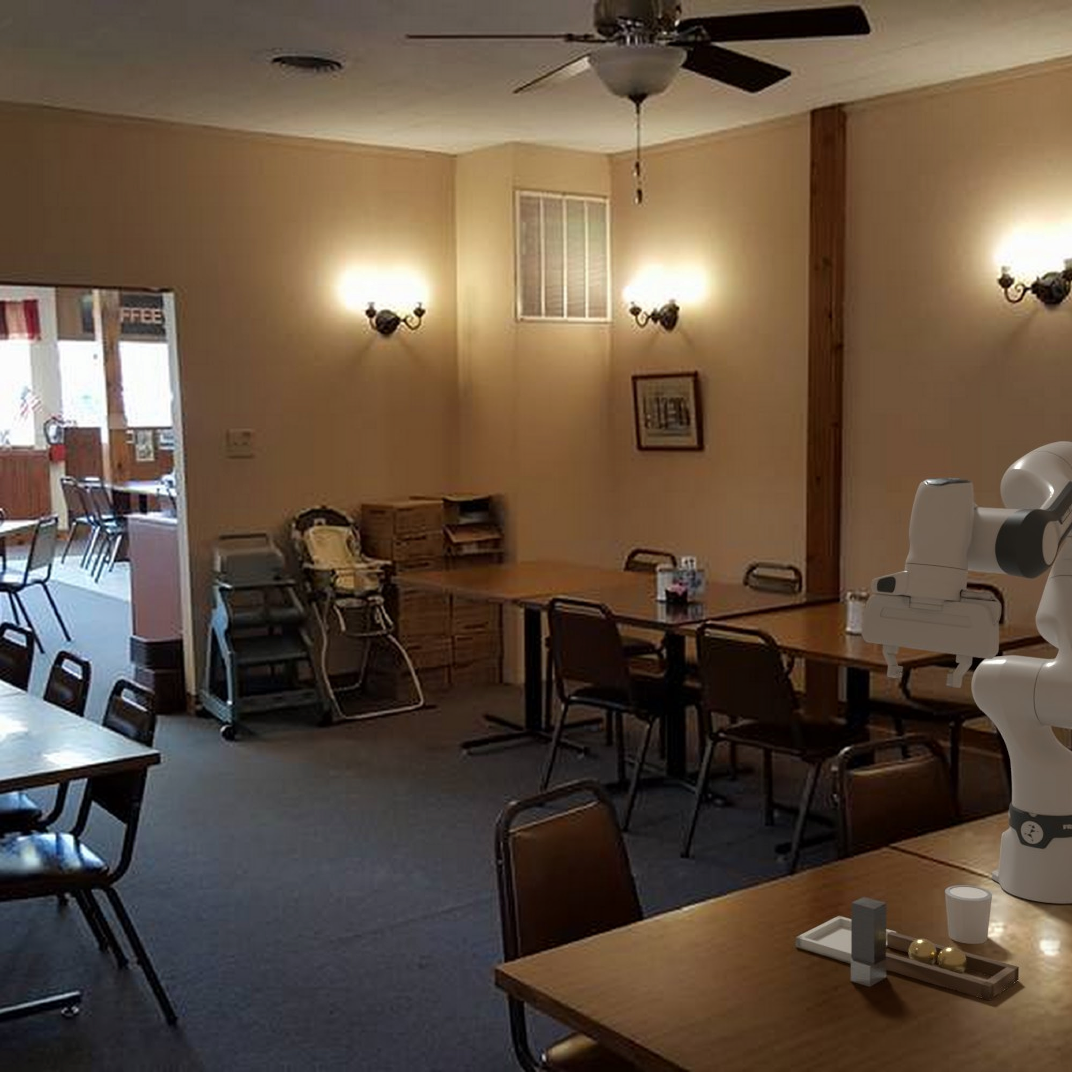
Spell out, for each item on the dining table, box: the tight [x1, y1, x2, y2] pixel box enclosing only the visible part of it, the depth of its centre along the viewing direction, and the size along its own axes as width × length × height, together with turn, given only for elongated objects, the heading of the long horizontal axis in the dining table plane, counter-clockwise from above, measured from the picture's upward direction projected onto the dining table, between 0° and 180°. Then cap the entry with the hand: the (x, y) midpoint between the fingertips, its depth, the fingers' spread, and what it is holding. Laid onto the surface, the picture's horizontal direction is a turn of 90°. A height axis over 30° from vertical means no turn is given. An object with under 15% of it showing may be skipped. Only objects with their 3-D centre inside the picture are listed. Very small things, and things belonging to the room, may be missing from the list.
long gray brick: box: [850, 896, 887, 988], centre depth 184 cm, size 4×4×11 cm
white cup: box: [944, 884, 993, 945], centre depth 199 cm, size 7×7×7 cm
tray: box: [795, 915, 898, 965], centre depth 197 cm, size 12×10×2 cm
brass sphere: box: [936, 946, 967, 975], centre depth 185 cm, size 4×4×4 cm
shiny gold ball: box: [907, 938, 937, 966], centre depth 189 cm, size 4×4×4 cm
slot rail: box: [886, 930, 1020, 1001], centre depth 187 cm, size 9×20×2 cm, turn 46°
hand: (923, 682), depth 190 cm, fingers open, 8 cm apart
